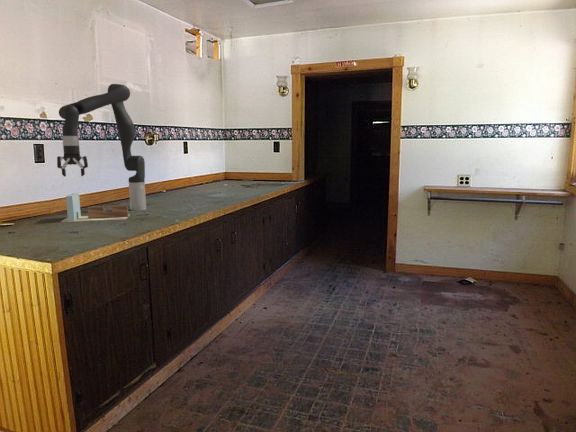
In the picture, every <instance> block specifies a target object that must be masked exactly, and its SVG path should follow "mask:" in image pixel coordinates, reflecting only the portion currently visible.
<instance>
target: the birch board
mask: <svg viewBox="0 0 576 432" xmlns="http://www.w3.org/2000/svg"><path fill="white" fill-rule="evenodd" d="M130 215H131V214H130V213H128V217H130ZM128 217H115V218H91V219H88V215H81V217H79V218H77V220H75V221H74V222H88V221H89V222H93V221H94V222H95V221H116V220H117V221H118V220H127V219H128ZM67 222H69V223H70V222H73V221H68V216H67V217H66V218H64V219H62V220H60V223H67Z"/></svg>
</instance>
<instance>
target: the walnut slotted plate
mask: <svg viewBox="0 0 576 432" xmlns="http://www.w3.org/2000/svg"><path fill="white" fill-rule="evenodd" d="M128 214H129V207H128V205H111V211H105V206H104V205H103V206H88V207H87V216H88V219H91V218H115V217H127V218H129V216H128Z"/></svg>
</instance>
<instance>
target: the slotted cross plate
mask: <svg viewBox="0 0 576 432" xmlns="http://www.w3.org/2000/svg"><path fill="white" fill-rule="evenodd" d="M80 200H81V199H80V193H79V192H71V193H69V194H67V195H65V203H66V212H67V214H66V215H67V217H68V221H72V222H76V221H75V220H77V218H79V217H81V216H82V213H81V203H80V202H81V201H80Z"/></svg>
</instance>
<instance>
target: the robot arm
mask: <svg viewBox="0 0 576 432" xmlns="http://www.w3.org/2000/svg"><path fill="white" fill-rule="evenodd" d="M130 97H131V91H130V89H129V87H128V86H127V85H125V84H119V83H110V84H109V86H108V87H107V92H105V93H102V94H95V95H92V96H89V97H86V98H82V99H80V100H78V101H75V102H72V103H69V104H66V105H63V106H61V107H59V110H58V115H59V117H60V118H61V119H63V120H64V124H63V125H62V146H63V147H62V148H63V149H62V150H63V156H59V155H58V156H57V157H56V160H57V161H56V162H57V164H56V166H57V169H61V174H62V176H63V177H67V171H66V168H67V166H68V165H70V166H71V165H77V166H78V167H79V168H80V175H81V177H84V176H85V171H86V170H85V169H86V168H89V165H88V164H89V163H88V158H87V157H88V156H86V155H84V156H81V151H80V140H79V133H78V132H79V131H78V125H79V117H80V115H85V114H88V113H91V112H94V111H96V110H98V109H100V108H101V109H102V108H103V107H105V106H109V105H111V108H112V111H113V116H114V120H115V123H116V128H117V133H118V137H119V141H120V144H121V145H120V146H121V150H122V158H123V163H124V167H125V169H126V170H127V171H128V172H135V174H133V176H129V178H128V191H129V205H130V211H133V212H141V211H146V210H147V198H146V185H145V182H146V181H145V178H146V170H145V168H146V165H145V164H146V163H145V158H144V156H142V155H132V150H131V149H132V144H133V142H134V140H135V137H136V130H135V126H134V122H133V119H132V118H131V117H130V115H129V113H128V111H127V110H126V108H125V104H124V102H125V101H128V100H129V98H130ZM62 161H64V162H63V165H62ZM81 161H83V164H84V165H83V164H82V162H81Z"/></svg>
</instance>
